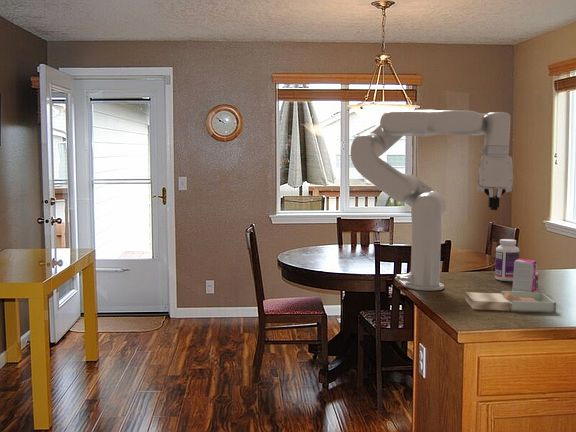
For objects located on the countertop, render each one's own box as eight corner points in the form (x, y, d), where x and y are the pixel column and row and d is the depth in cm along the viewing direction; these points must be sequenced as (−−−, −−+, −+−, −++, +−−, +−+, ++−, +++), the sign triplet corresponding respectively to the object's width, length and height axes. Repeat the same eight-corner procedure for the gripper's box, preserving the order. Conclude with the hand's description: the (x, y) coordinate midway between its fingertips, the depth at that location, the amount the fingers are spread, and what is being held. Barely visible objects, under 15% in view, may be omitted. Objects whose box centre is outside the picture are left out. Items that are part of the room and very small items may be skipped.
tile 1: (506, 298, 194) (509, 293, 193) (503, 295, 197) (506, 290, 197) (517, 306, 193) (521, 301, 193) (514, 303, 197) (518, 298, 197)
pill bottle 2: (538, 293, 214) (540, 266, 213) (522, 292, 215) (523, 265, 214) (536, 290, 219) (537, 263, 219) (519, 289, 220) (521, 262, 220)
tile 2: (535, 300, 193) (535, 306, 193) (532, 297, 197) (532, 303, 197) (521, 300, 193) (521, 306, 193) (518, 297, 197) (518, 303, 197)
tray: (512, 311, 189) (512, 301, 189) (501, 300, 203) (501, 290, 202) (555, 313, 188) (556, 302, 187) (541, 302, 202) (541, 292, 201)
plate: (472, 309, 191) (472, 300, 191) (465, 299, 203) (465, 292, 202) (509, 310, 190) (510, 302, 190) (500, 301, 202) (500, 293, 201)
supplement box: (530, 298, 206) (532, 262, 205) (511, 296, 209) (513, 260, 208) (534, 295, 211) (536, 260, 210) (515, 293, 214) (517, 258, 213)
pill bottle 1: (520, 279, 238) (522, 239, 236) (515, 283, 231) (517, 242, 230) (497, 276, 242) (499, 237, 241) (491, 280, 235) (493, 240, 234)
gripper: (474, 151, 205) (471, 210, 207) (523, 152, 204) (520, 211, 206) (470, 151, 213) (467, 208, 214) (517, 152, 211) (514, 209, 213)
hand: (493, 209), depth 210 cm, fingers closed
